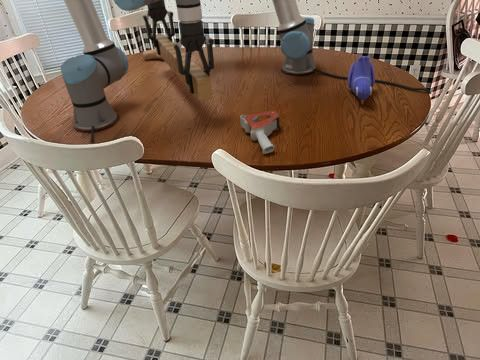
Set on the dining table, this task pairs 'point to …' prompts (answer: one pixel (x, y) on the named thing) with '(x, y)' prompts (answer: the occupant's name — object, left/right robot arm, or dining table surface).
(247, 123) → the tape dispenser
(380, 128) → the dining table surface
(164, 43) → the beam
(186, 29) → the left robot arm
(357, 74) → the toy
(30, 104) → the dining table surface
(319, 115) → the dining table surface
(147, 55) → the squash
